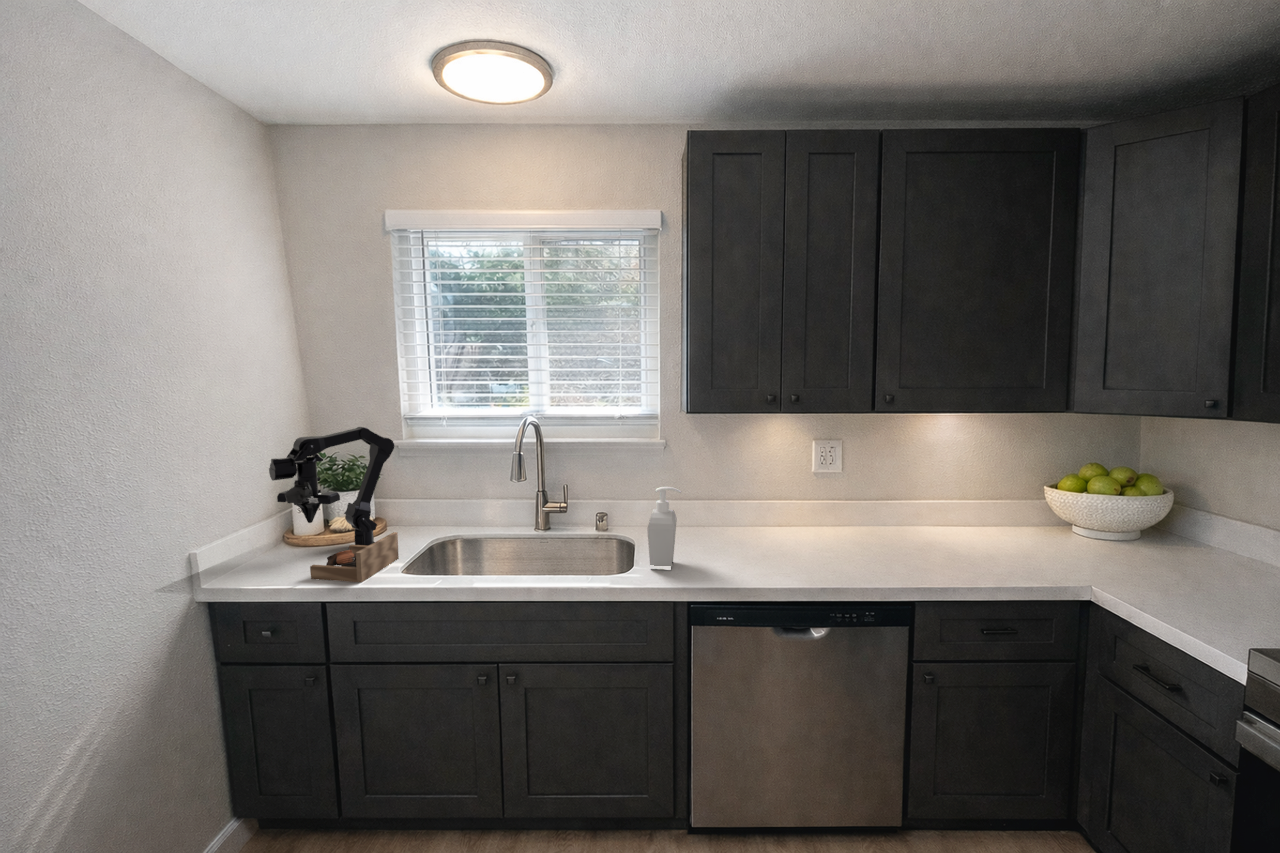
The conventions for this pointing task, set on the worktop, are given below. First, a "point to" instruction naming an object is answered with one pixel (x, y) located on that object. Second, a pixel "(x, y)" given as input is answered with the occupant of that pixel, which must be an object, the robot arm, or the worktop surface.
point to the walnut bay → (361, 561)
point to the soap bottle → (662, 531)
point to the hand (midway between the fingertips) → (310, 522)
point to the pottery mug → (342, 559)
